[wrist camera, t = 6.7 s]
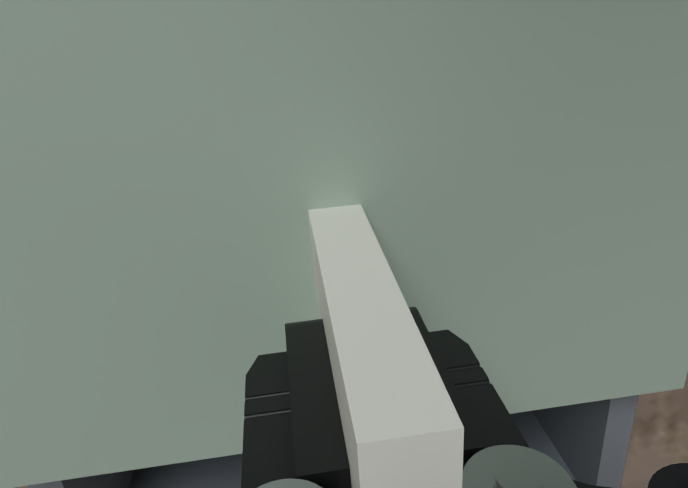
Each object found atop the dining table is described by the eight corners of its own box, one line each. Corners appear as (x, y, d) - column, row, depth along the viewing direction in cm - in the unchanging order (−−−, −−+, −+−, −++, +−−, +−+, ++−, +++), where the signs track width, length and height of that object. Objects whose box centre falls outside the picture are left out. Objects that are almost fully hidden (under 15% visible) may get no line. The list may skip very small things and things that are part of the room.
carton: (514, -42, 20) (729, -71, 11) (493, 338, 26) (614, 520, 17) (41, -8, 18) (-180, -9, 9) (146, 385, 25) (80, 610, 16)
